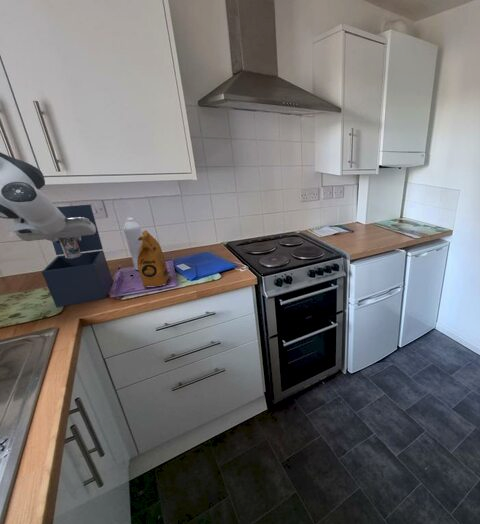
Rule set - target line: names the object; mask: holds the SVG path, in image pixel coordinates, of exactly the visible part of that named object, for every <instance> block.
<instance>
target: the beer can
mask: <svg viewBox="0 0 480 524" xmlns="http://www.w3.org/2000/svg"><path fill="white" fill-rule="evenodd" d="M58 239H59V242H60V244H61V247H62V249H63V252H64V254H63V255H65V258H68V259H73V258H77V257H80V256H81V255H82V254H81V253H82V252H80V249H79V246H78V243H77V241H76V240H75V239H74V237H64V238H58Z"/></svg>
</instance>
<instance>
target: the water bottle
mask: <svg viewBox="0 0 480 524" xmlns="http://www.w3.org/2000/svg"><path fill="white" fill-rule="evenodd" d="M123 232H124V235H125V239H126V243H127V246H128V250H129V253H130V256H131V260H132V264H133V268H134V270H135V269H138V266H137V258H138V254H139V250H140V246H141V244H142V242H143V241H142V240H140V241H139V240H138V239H139V237H141V236H143V234H142V233H143V231H142V227H141V225H140V224H139V223H137V222H136V221H135V218H133V216H127V217H125V223H124V226H123Z"/></svg>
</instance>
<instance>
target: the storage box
mask: <svg viewBox="0 0 480 524" xmlns="http://www.w3.org/2000/svg"><path fill="white" fill-rule="evenodd" d="M81 254H82V255H81V256H80V257H77V258H73V259H68V258H65V255H64V254H62V255H56V257H54V258H53V260H51V262H50V263H49V264H48V265H47V266H46V267H45V268H44V269H43V270H42V271H41V274H42V276H43V279H44V281H45V284H46V286H47V288H48V291H49V293H50V296H51V298H52V301H53V303H54V305H55V307H56V308H61V306H62V307H67V306H71V305H72V306H73V305H78V304H83V303H88V302H94V301H98V300H104V299H107V297H108V294H109V292H110V290H111V287H112V285H111V284H113V282H114V280H113V277H112V273H111V271H110V268H109V265H108V261H107V258H106V255H105V251H104V249H101V250H93V251H86V252H81ZM112 281H113V282H112Z"/></svg>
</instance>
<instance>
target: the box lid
mask: <svg viewBox="0 0 480 524" xmlns="http://www.w3.org/2000/svg"><path fill="white" fill-rule="evenodd" d="M56 207H57V208H58V209H59V210H60V211H61V212H62V214H63V215H64V216H65V217H66V218H74V217H84V218H88V219H89V220H90V221H91V222H92V223H93V224H94V225H95V227H96V233H95V234H94V235H85V236H81V240H80V241H77V243H78V246H79V249H80V252H81V253H86V252H94V251H102V250H104V249H103V244H102V241H101V237H100V234H99V230H98V226H97V223H96V222H97V221H96V219H95V215H94V212H93V211H94V210H93V207H92V204H79V205H77V204H76V205H63V206H56ZM51 242H52V243H51V244H52V246H53V249H54V252H55V255H56V256H62V255H64V252H63V249H62V247H61V244H60V243H54V242H53V241H51Z"/></svg>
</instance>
